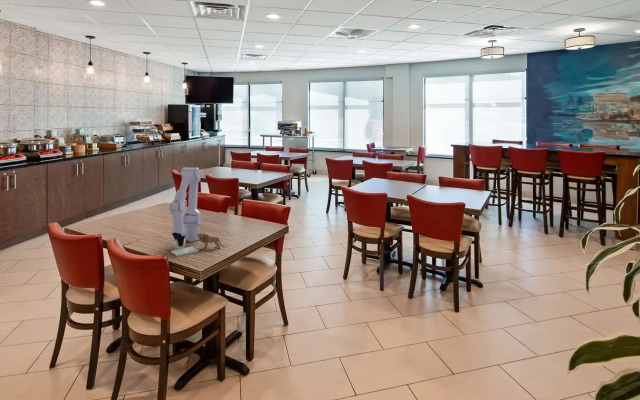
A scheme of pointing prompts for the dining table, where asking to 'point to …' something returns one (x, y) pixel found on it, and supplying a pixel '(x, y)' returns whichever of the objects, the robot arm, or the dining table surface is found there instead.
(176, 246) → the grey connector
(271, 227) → the dining table surface
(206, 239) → the lion figurine
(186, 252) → the pale green rectangular panel
